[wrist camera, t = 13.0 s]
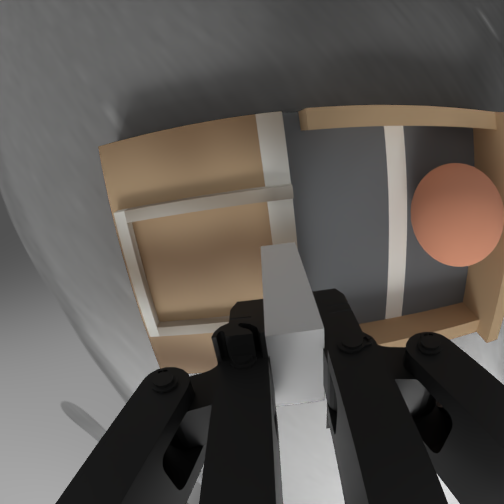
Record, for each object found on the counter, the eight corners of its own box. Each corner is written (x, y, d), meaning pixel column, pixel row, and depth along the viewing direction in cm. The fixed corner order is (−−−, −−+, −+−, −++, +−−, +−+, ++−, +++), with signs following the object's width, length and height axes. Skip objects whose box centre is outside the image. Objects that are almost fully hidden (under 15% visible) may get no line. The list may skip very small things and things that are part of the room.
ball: (495, 293, 13) (430, 270, 12) (443, 254, 18) (379, 231, 17) (533, 198, 11) (475, 152, 10) (473, 177, 16) (411, 141, 15)
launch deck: (301, 339, 21) (307, 369, 18) (170, 351, 21) (160, 380, 18) (278, 114, 16) (282, 110, 13) (117, 144, 16) (92, 147, 13)
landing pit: (466, 307, 20) (496, 339, 16) (301, 339, 21) (310, 385, 17) (477, 112, 15) (522, 114, 11) (278, 114, 16) (286, 107, 12)
